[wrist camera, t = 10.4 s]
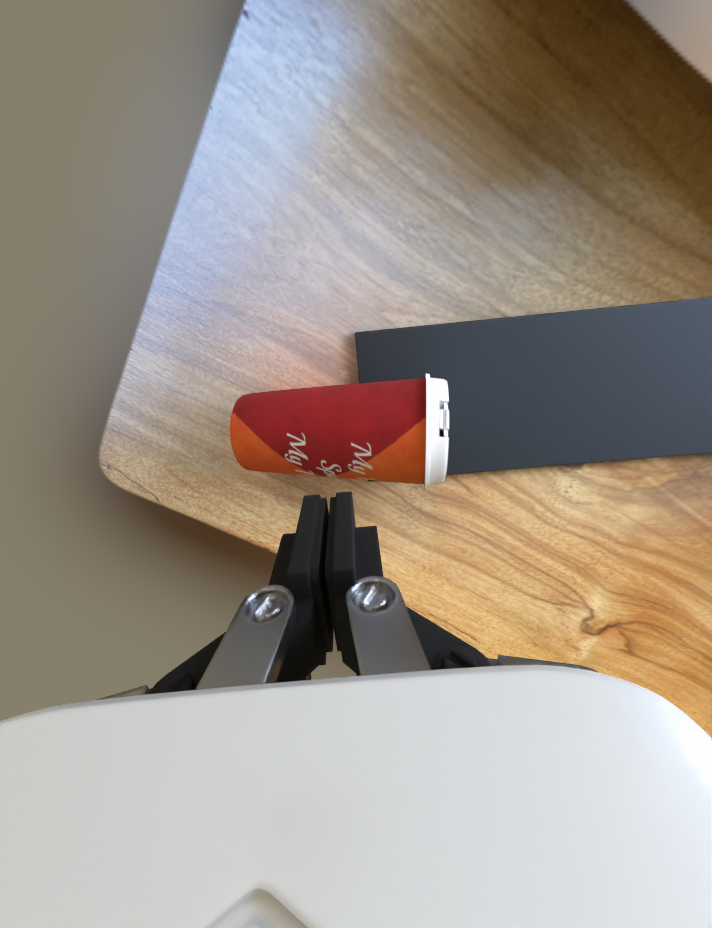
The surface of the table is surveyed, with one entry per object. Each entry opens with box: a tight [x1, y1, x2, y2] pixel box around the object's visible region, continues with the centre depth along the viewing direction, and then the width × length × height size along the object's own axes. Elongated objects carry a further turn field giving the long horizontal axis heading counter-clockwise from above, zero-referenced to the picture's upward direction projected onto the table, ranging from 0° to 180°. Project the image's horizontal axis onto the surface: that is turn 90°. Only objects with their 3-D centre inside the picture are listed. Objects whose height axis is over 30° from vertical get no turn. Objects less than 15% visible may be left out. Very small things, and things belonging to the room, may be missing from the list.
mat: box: [355, 297, 712, 481], centre depth 27 cm, size 30×12×1 cm, turn 95°
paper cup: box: [230, 373, 449, 489], centre depth 25 cm, size 8×8×14 cm
